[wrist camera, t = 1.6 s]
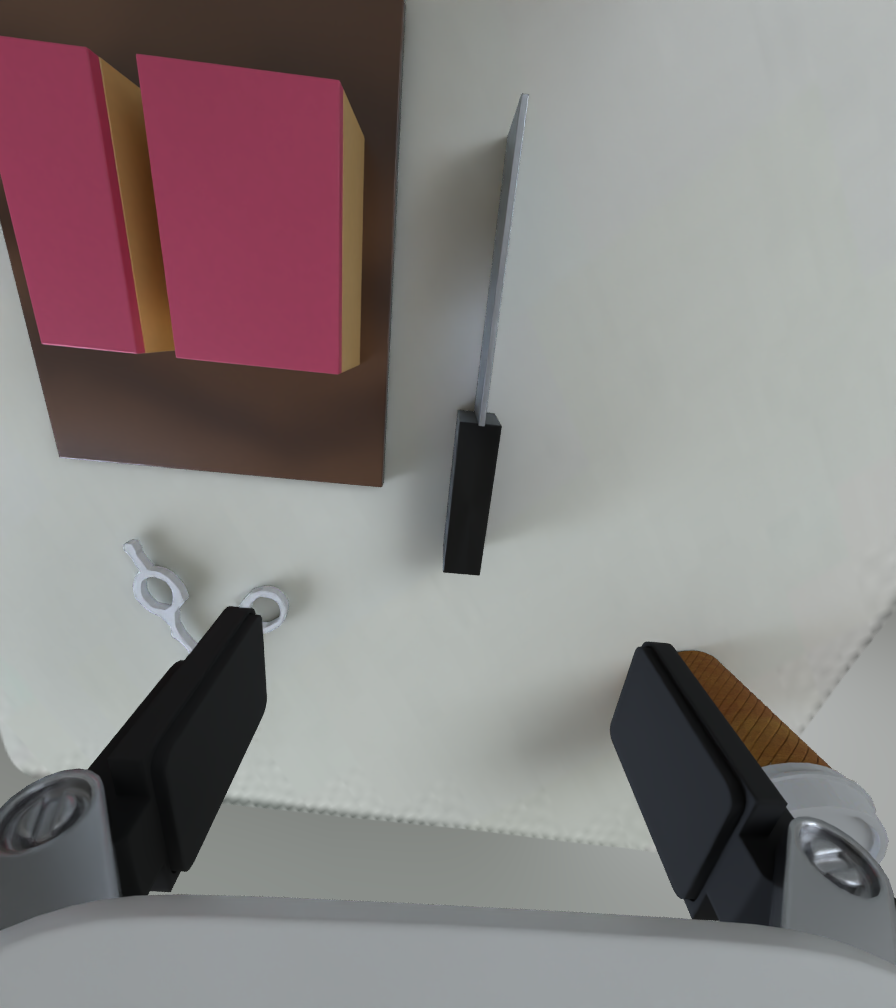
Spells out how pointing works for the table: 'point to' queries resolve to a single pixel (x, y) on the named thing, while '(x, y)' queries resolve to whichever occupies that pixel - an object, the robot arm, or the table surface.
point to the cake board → (224, 386)
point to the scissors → (181, 595)
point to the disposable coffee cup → (790, 759)
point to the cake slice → (82, 198)
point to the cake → (257, 213)
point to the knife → (482, 397)
